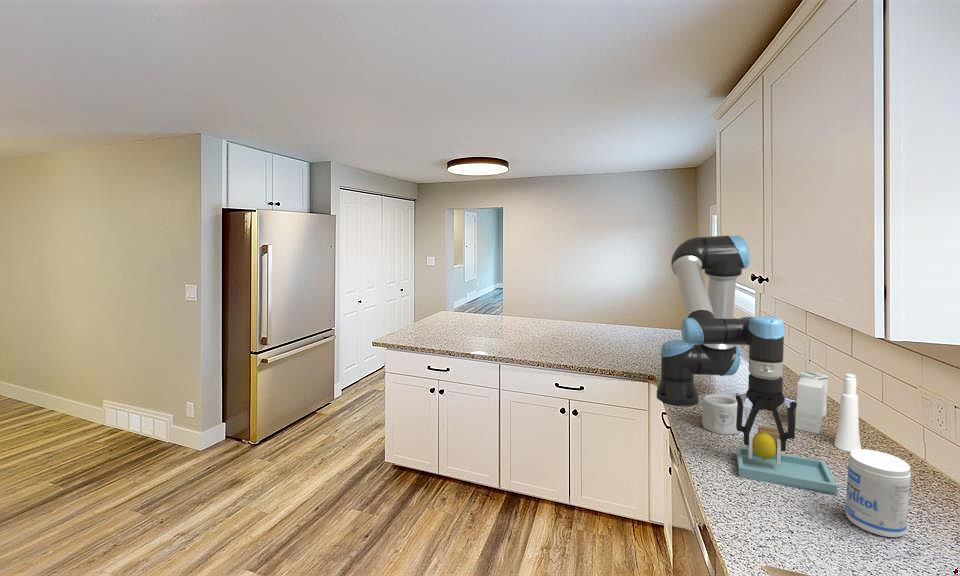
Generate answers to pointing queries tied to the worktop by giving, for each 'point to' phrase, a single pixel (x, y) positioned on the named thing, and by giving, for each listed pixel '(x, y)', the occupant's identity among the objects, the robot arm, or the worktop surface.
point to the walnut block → (769, 431)
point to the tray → (787, 471)
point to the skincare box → (809, 405)
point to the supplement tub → (878, 492)
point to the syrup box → (819, 377)
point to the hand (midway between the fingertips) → (763, 458)
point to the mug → (720, 414)
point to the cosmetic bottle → (848, 417)
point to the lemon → (764, 445)
